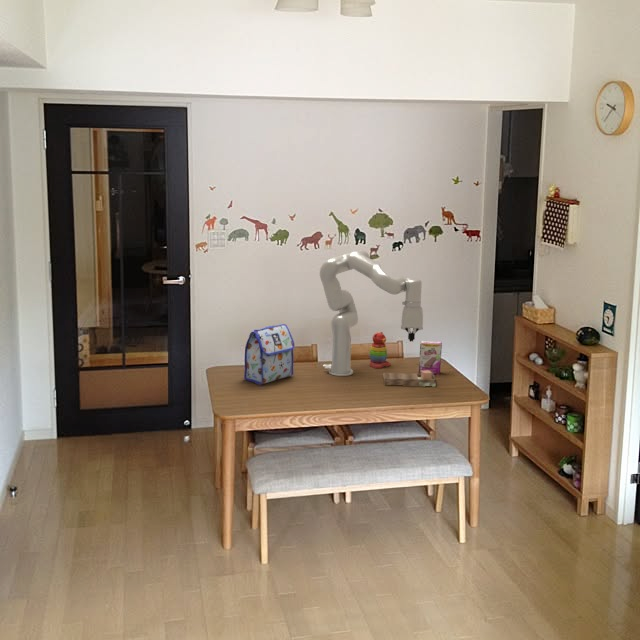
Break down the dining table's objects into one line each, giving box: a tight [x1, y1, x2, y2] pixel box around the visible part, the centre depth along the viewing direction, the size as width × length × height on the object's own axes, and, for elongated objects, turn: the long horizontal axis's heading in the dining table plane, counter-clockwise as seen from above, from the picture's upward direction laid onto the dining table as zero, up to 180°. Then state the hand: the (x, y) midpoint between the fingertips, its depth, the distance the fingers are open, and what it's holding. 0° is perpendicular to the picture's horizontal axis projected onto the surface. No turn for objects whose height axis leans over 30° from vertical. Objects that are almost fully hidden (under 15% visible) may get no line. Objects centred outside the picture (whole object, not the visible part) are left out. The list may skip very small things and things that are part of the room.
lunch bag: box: [243, 323, 295, 386], centre depth 424 cm, size 23×17×27 cm
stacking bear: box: [368, 331, 391, 369], centre depth 452 cm, size 11×10×18 cm
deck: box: [382, 371, 437, 388], centre depth 426 cm, size 25×15×4 cm, turn 89°
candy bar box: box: [418, 340, 443, 375], centre depth 440 cm, size 11×5×16 cm, turn 84°
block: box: [420, 370, 432, 379], centre depth 423 cm, size 4×4×4 cm
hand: (411, 340), depth 418 cm, fingers closed
